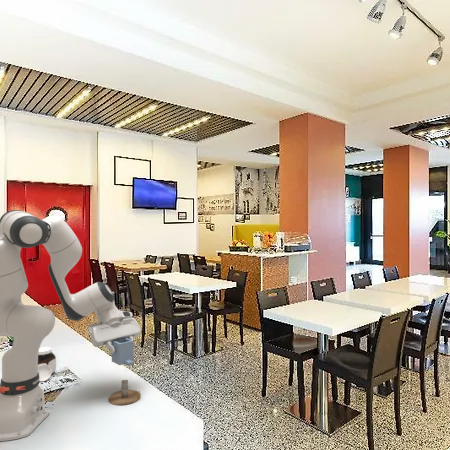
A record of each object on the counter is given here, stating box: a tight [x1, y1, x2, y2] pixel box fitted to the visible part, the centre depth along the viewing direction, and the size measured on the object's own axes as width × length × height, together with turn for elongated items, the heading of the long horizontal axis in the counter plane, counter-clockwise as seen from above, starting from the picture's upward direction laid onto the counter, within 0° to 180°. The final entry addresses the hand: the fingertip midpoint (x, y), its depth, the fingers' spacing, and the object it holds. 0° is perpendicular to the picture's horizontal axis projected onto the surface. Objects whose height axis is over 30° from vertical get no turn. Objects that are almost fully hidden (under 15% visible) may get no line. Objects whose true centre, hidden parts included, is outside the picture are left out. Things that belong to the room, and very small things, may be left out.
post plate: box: [108, 379, 142, 406], centre depth 148 cm, size 12×12×7 cm
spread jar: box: [38, 346, 57, 382], centre depth 169 cm, size 12×11×12 cm
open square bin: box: [111, 338, 135, 367], centre depth 148 cm, size 9×6×8 cm, turn 46°
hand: (123, 350), depth 148 cm, fingers closed on open square bin, 6 cm apart
